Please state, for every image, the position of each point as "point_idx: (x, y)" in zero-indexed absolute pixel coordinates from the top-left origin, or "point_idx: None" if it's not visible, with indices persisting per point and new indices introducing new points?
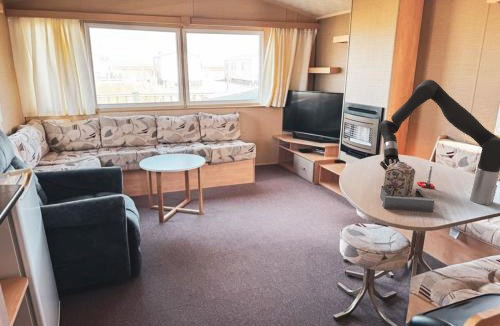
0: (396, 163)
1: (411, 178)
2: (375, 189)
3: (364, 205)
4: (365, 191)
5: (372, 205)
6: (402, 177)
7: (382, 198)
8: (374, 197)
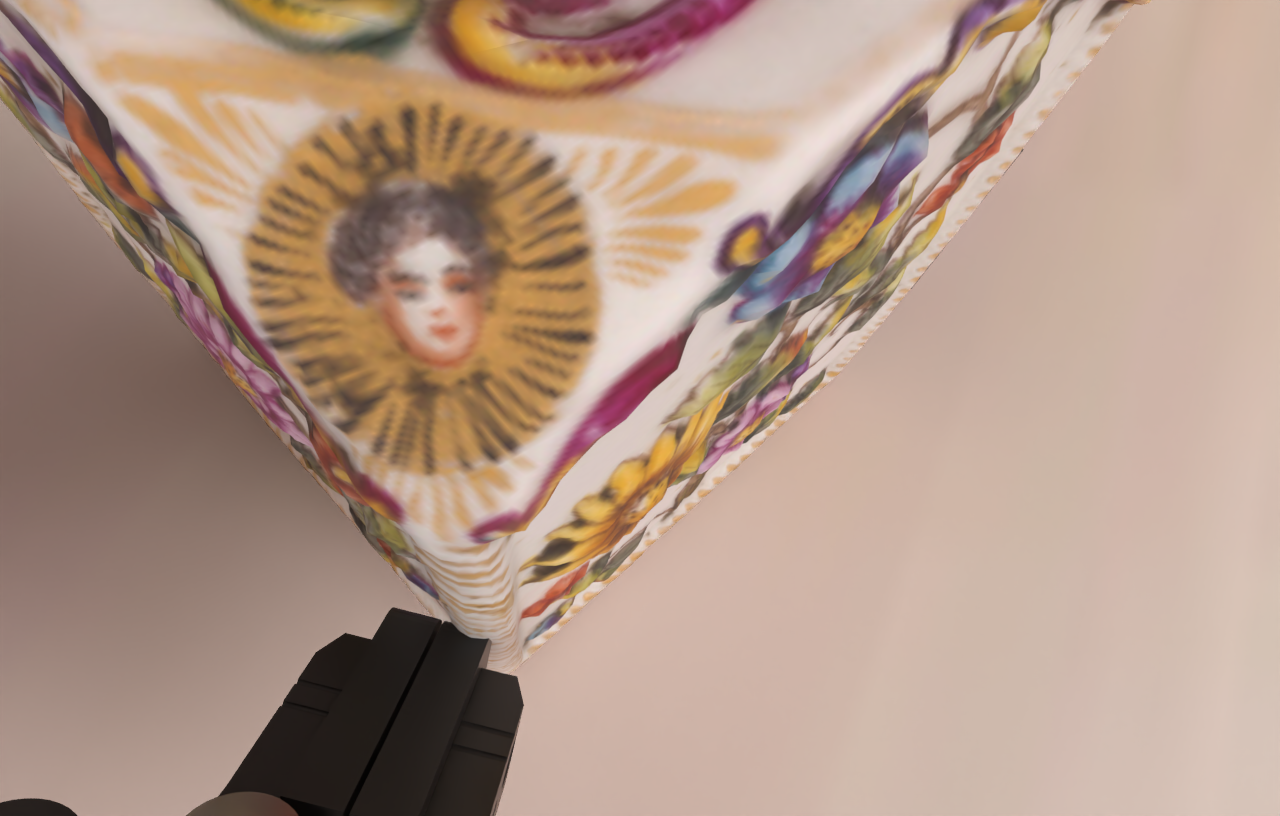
0: (482, 20)
1: None
2: (868, 693)
3: (1250, 25)
4: (1129, 574)
5: (1135, 12)
6: None
7: None
8: (1024, 272)
